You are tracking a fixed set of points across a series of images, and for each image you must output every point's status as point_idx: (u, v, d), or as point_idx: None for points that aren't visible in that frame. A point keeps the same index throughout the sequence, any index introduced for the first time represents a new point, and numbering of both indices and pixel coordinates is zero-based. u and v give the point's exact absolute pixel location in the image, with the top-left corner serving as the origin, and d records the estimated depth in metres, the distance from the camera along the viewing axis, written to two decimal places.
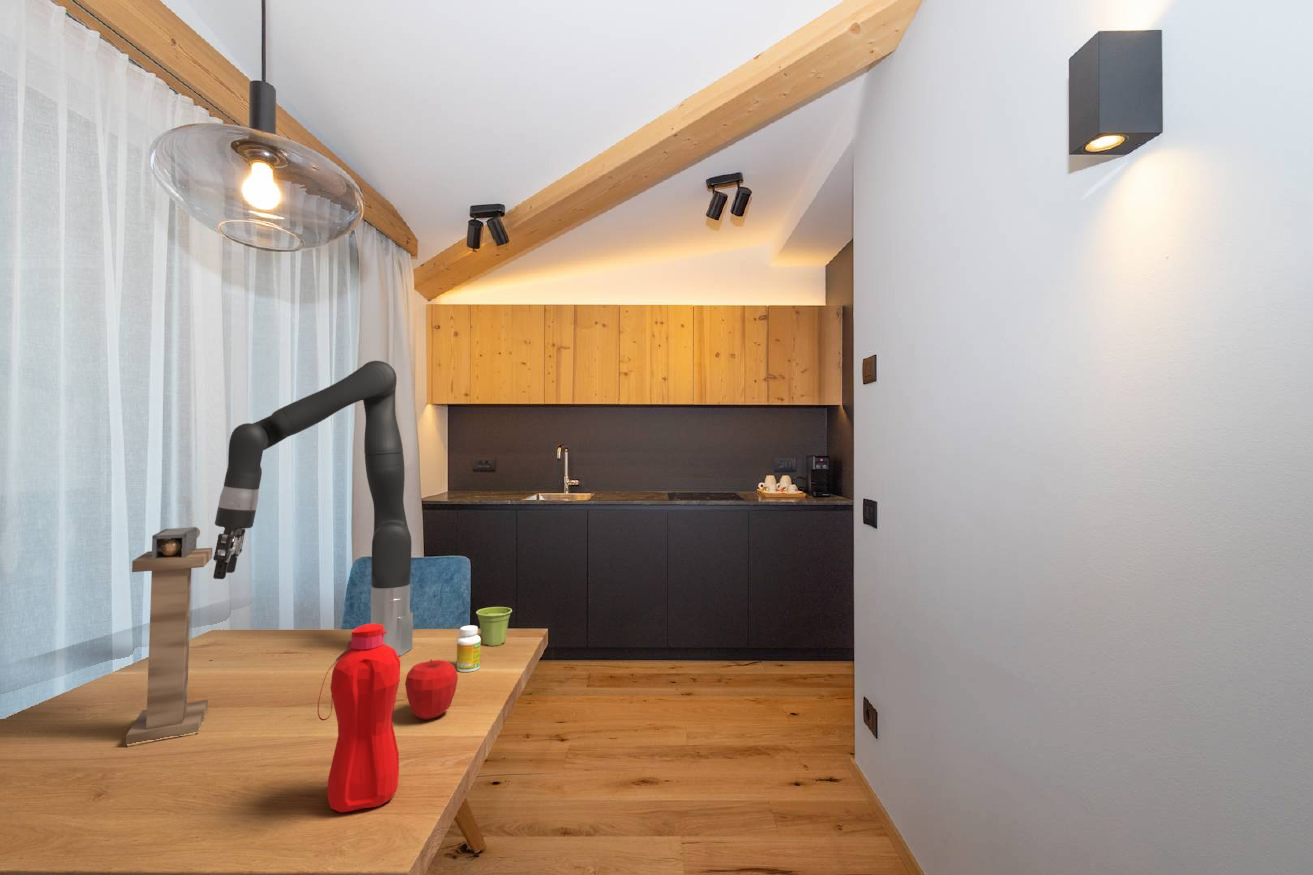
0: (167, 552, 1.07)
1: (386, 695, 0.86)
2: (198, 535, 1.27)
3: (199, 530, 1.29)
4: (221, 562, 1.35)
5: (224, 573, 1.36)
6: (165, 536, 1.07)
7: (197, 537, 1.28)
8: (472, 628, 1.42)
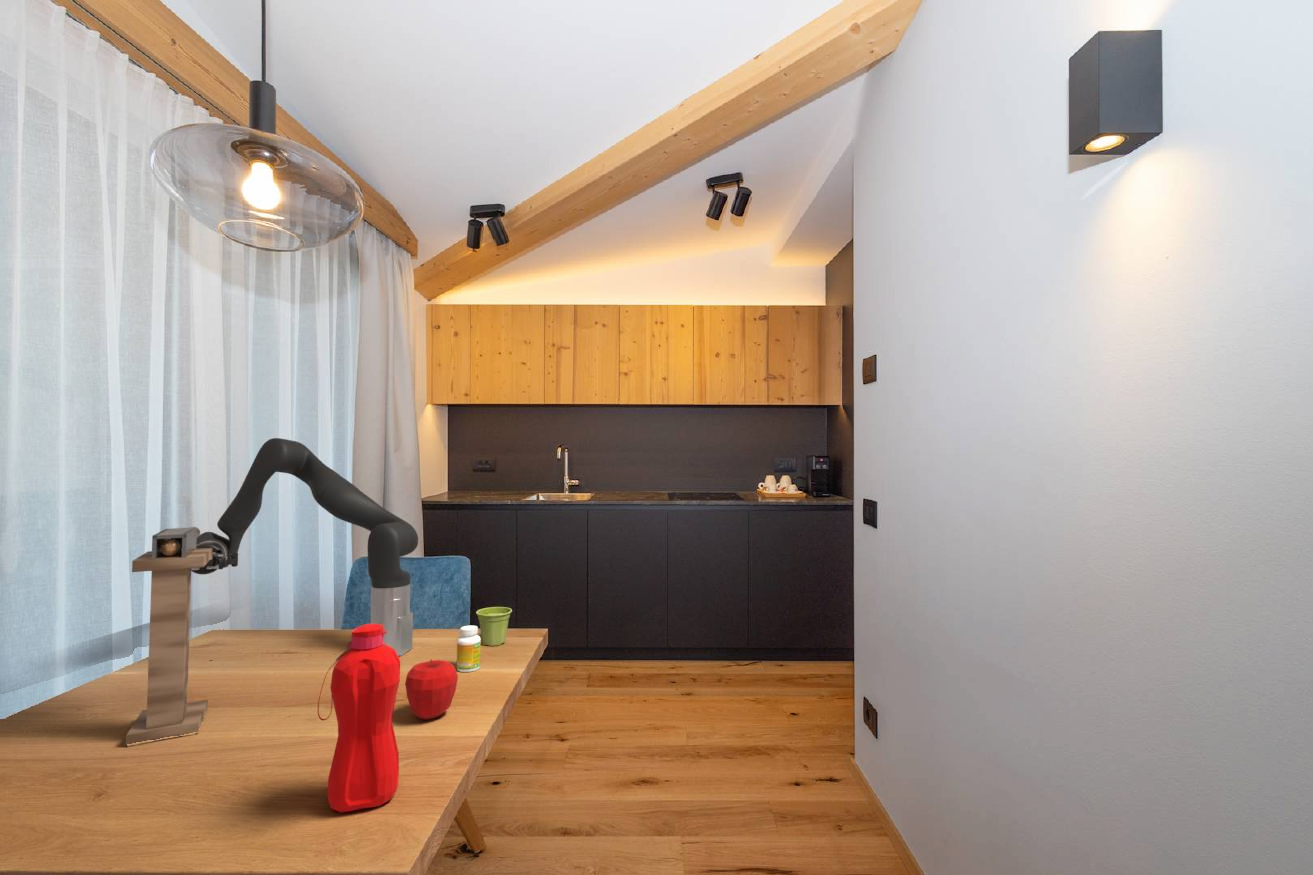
0: (167, 552, 1.07)
1: (386, 695, 0.86)
2: (198, 535, 1.27)
3: (199, 530, 1.29)
4: None
5: None
6: (165, 536, 1.07)
7: (197, 537, 1.28)
8: (472, 628, 1.42)
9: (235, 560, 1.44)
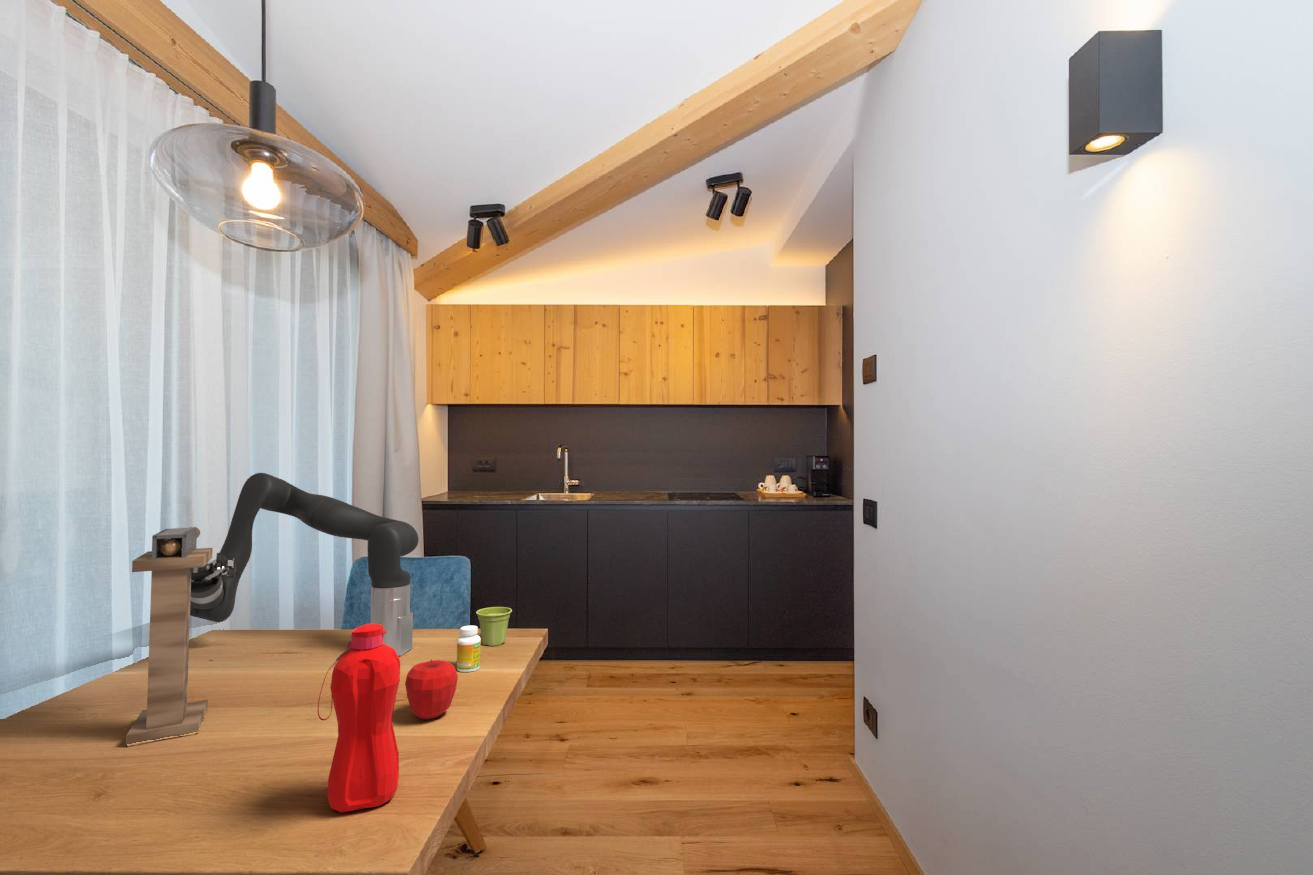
0: (167, 552, 1.07)
1: (386, 695, 0.86)
2: (198, 535, 1.27)
3: (199, 530, 1.29)
4: None
5: None
6: (165, 536, 1.07)
7: (197, 537, 1.28)
8: (472, 628, 1.42)
9: (233, 562, 1.39)
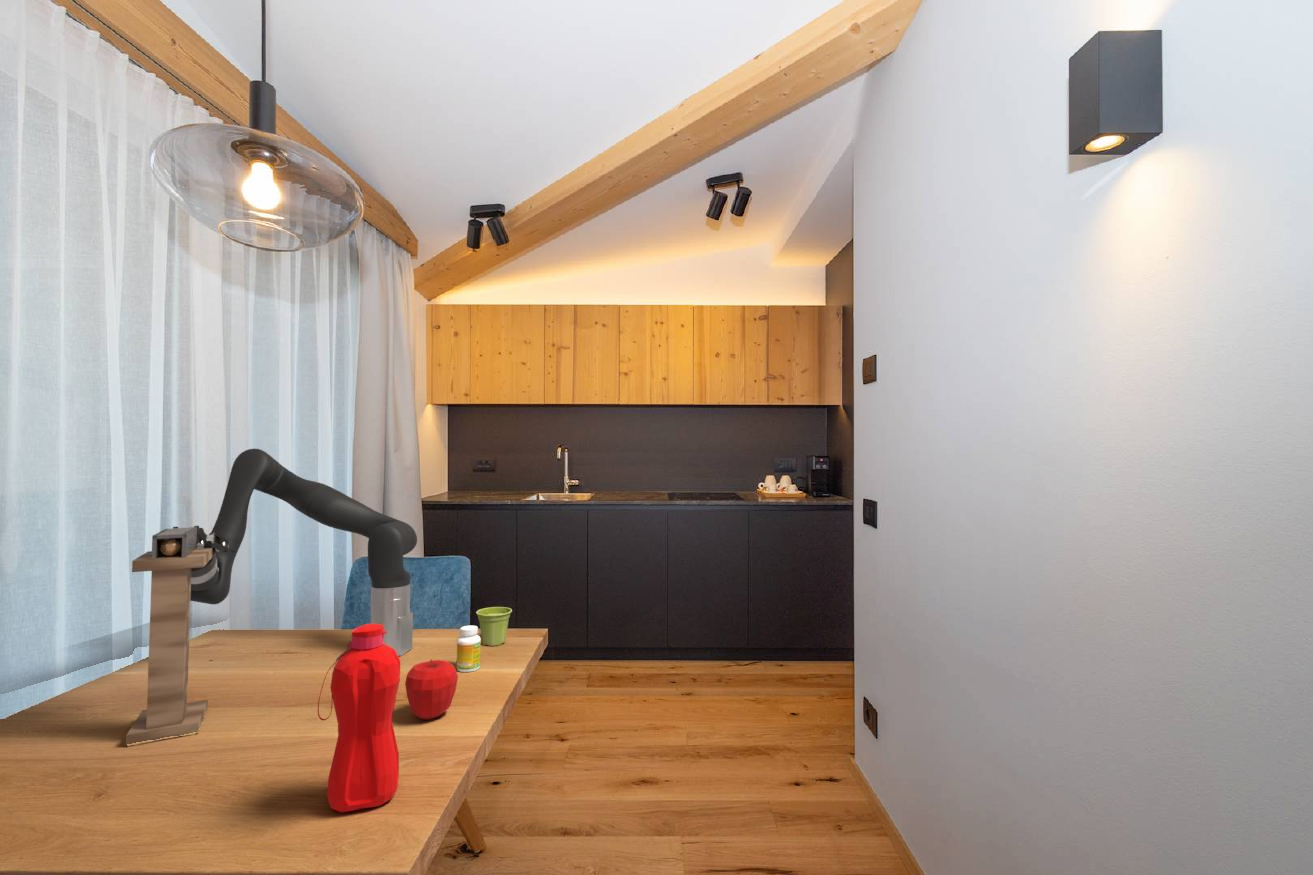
0: (167, 552, 1.07)
1: (386, 695, 0.86)
2: None
3: None
4: None
5: None
6: (165, 536, 1.07)
7: None
8: (472, 628, 1.42)
9: (211, 537, 1.26)
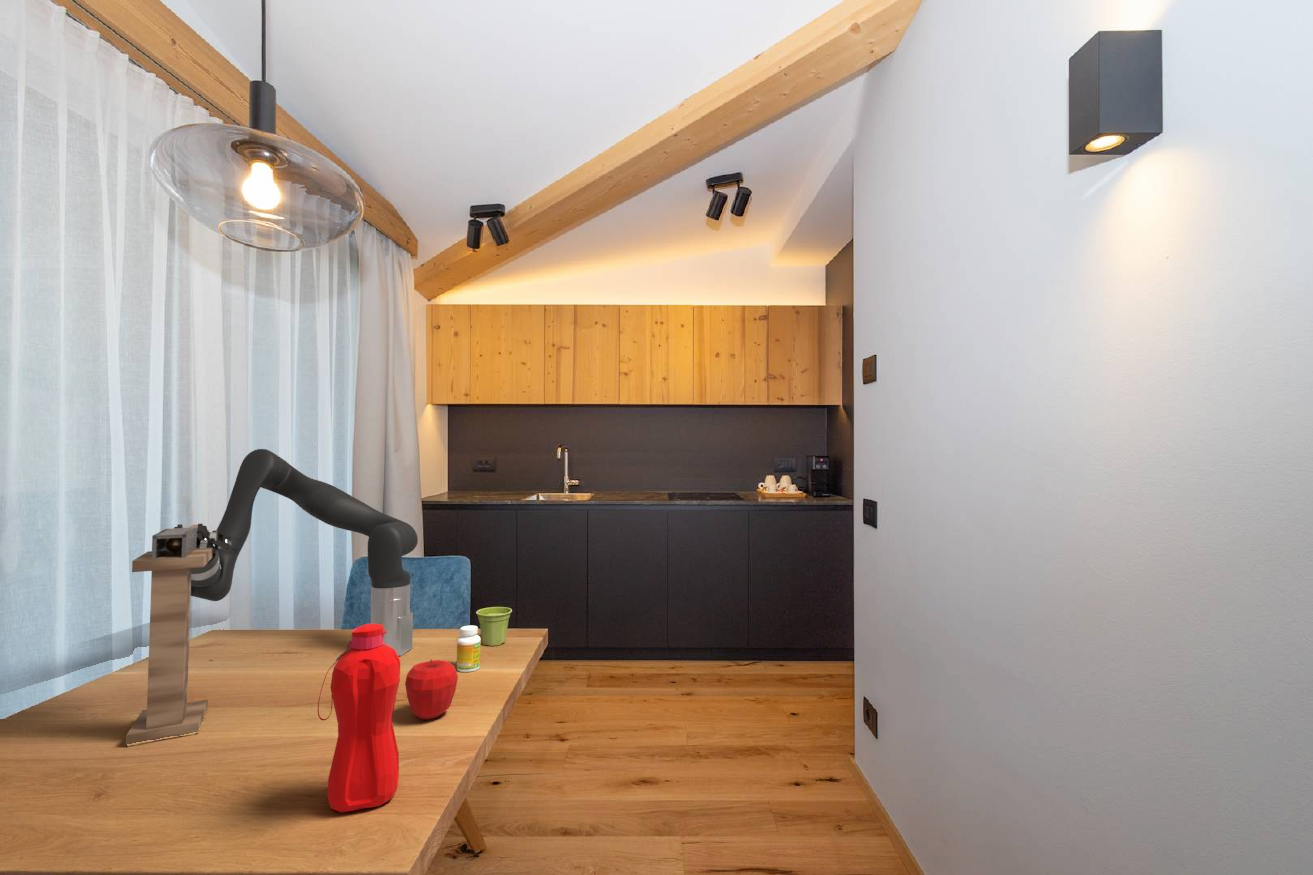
0: (172, 549, 1.11)
1: (386, 695, 0.86)
2: None
3: None
4: None
5: None
6: (165, 536, 1.07)
7: None
8: (472, 628, 1.42)
9: (214, 534, 1.30)
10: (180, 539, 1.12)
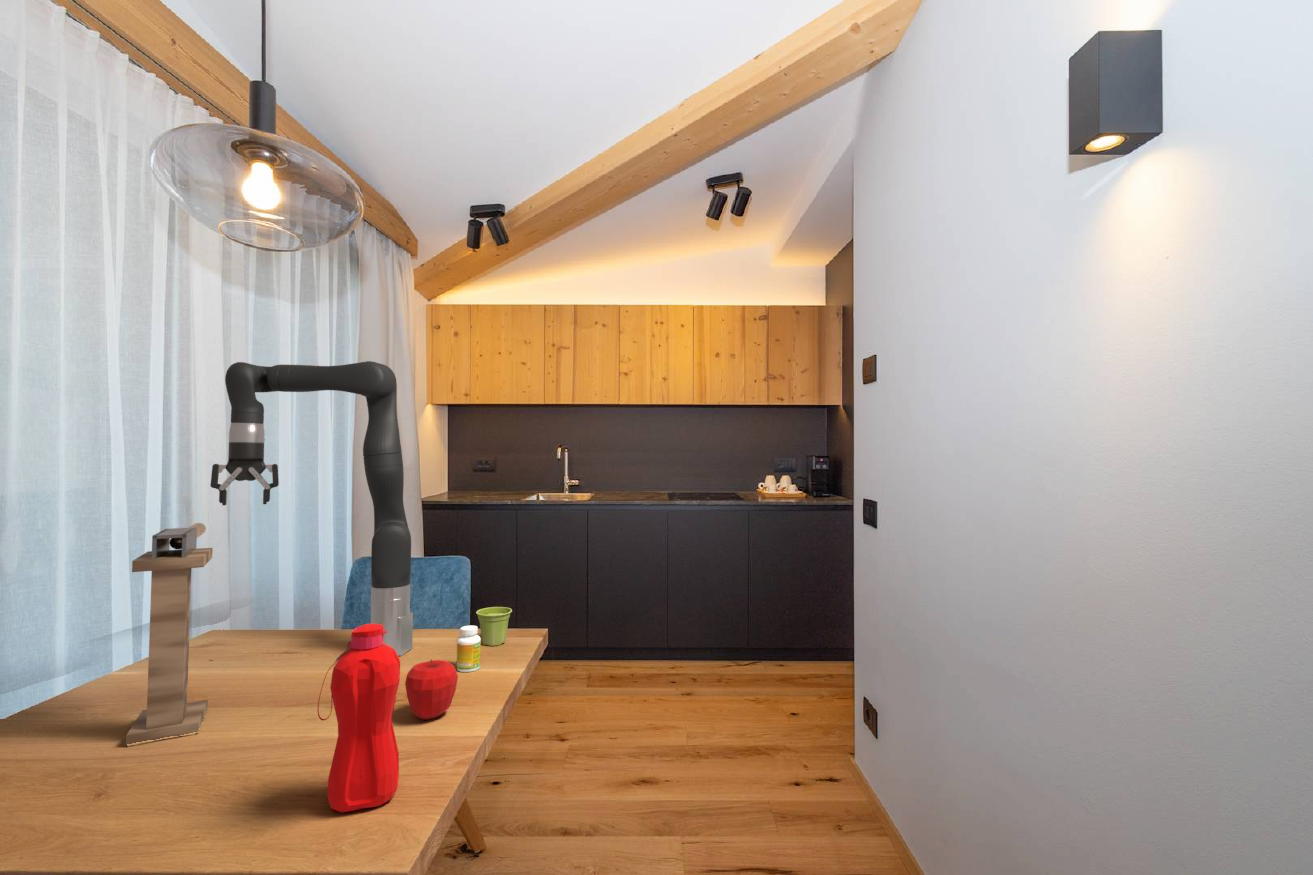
0: (176, 546, 1.15)
1: (386, 695, 0.86)
2: (204, 531, 1.35)
3: None
4: (218, 489, 1.50)
5: (222, 500, 1.49)
6: (165, 536, 1.07)
7: None
8: (472, 628, 1.42)
9: (276, 486, 1.56)
10: None
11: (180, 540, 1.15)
